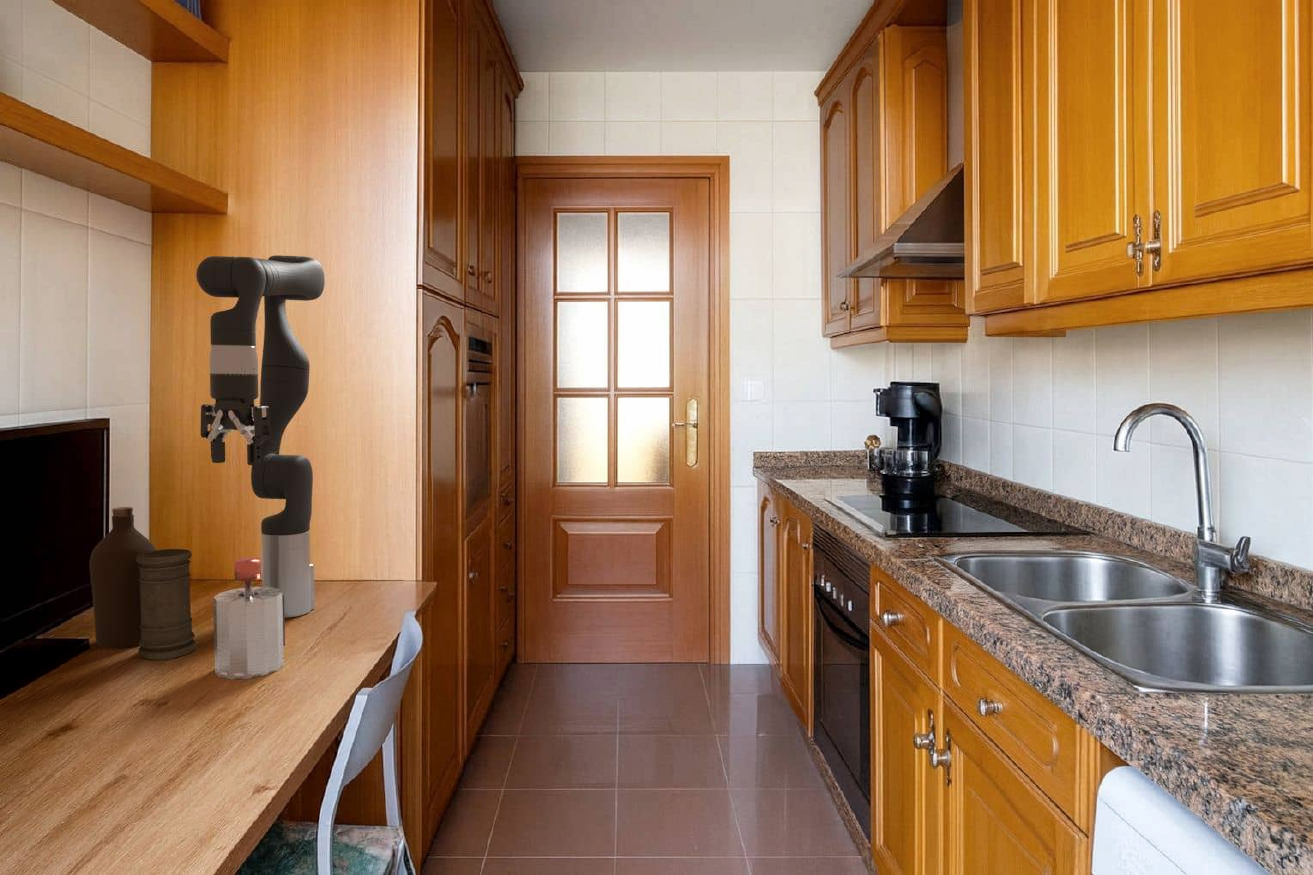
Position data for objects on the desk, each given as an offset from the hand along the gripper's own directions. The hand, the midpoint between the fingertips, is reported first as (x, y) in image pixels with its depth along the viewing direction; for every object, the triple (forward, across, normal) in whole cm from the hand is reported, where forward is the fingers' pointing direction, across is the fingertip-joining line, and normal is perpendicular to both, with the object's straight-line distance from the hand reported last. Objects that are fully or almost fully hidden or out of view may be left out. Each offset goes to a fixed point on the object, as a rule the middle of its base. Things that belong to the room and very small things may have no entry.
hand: (236, 463), depth 144 cm
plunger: (+32, -8, +5) cm, 34 cm away
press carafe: (+34, -8, +5) cm, 35 cm away
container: (+34, +12, +5) cm, 37 cm away
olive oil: (+34, +24, +4) cm, 42 cm away
